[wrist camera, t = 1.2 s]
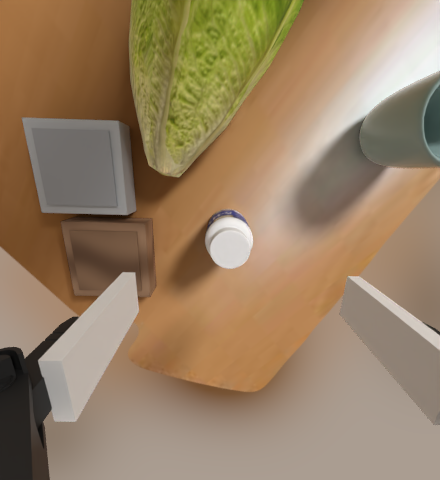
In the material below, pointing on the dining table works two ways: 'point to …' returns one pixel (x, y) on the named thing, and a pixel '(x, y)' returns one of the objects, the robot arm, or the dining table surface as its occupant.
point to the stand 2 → (109, 253)
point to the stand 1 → (81, 165)
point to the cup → (405, 127)
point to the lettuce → (198, 69)
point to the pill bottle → (228, 238)
